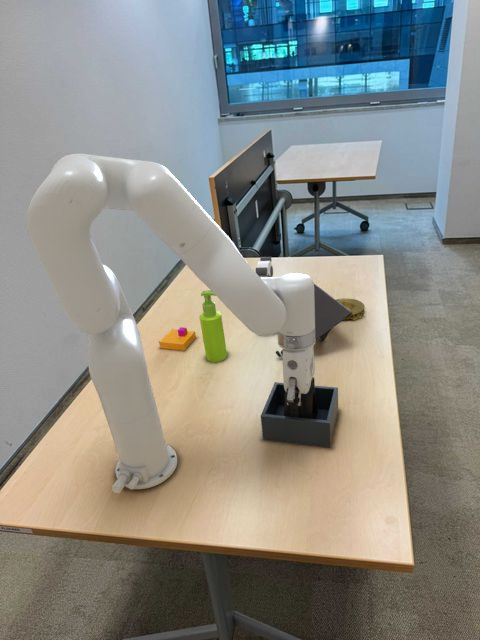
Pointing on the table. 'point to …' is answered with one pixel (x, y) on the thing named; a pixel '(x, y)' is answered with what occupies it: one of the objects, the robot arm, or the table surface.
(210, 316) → the soap dispenser
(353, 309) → the compass
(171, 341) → the orange tile with knob
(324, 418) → the tote
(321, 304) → the laptop tray
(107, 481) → the table surface
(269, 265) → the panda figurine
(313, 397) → the phone stand
